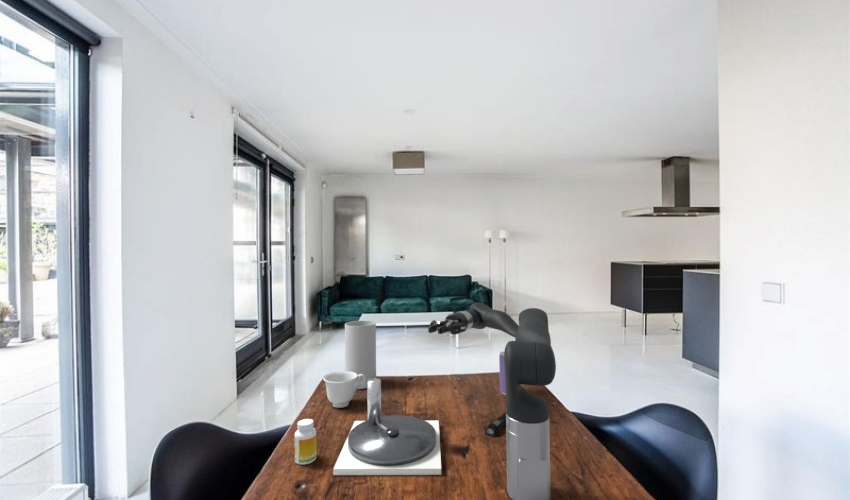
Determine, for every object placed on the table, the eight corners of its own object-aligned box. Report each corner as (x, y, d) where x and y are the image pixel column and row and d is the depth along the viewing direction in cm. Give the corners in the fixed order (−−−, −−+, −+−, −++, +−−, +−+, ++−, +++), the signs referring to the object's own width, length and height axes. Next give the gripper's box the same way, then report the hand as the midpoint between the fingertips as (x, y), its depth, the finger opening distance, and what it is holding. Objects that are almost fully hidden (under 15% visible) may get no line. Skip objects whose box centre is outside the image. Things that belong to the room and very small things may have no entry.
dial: (436, 465, 90) (436, 407, 91) (338, 466, 91) (337, 408, 91) (435, 421, 114) (434, 375, 115) (357, 421, 115) (357, 376, 115)
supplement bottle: (320, 457, 98) (320, 420, 98) (304, 467, 93) (304, 428, 93) (306, 452, 100) (306, 415, 101) (290, 461, 96) (290, 423, 96)
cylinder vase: (343, 381, 157) (343, 321, 157) (373, 378, 161) (373, 319, 161) (346, 391, 145) (346, 327, 145) (378, 387, 149) (378, 325, 149)
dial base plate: (441, 474, 89) (441, 467, 89) (333, 475, 90) (333, 467, 90) (438, 425, 115) (438, 419, 115) (354, 425, 116) (354, 419, 116)
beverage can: (497, 394, 141) (497, 354, 141) (502, 388, 146) (501, 350, 146) (513, 396, 138) (513, 356, 138) (517, 391, 143) (517, 352, 143)
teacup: (369, 407, 130) (369, 378, 130) (325, 414, 124) (325, 384, 125) (362, 395, 141) (361, 368, 141) (321, 401, 136) (321, 373, 136)
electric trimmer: (516, 419, 120) (516, 409, 120) (495, 438, 107) (495, 427, 107) (505, 417, 122) (505, 407, 122) (483, 435, 109) (483, 424, 110)
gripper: (476, 334, 133) (452, 344, 119) (442, 330, 141) (416, 339, 126) (476, 313, 133) (452, 320, 119) (442, 310, 141) (416, 317, 126)
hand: (434, 330), depth 123 cm, fingers open, 3 cm apart
